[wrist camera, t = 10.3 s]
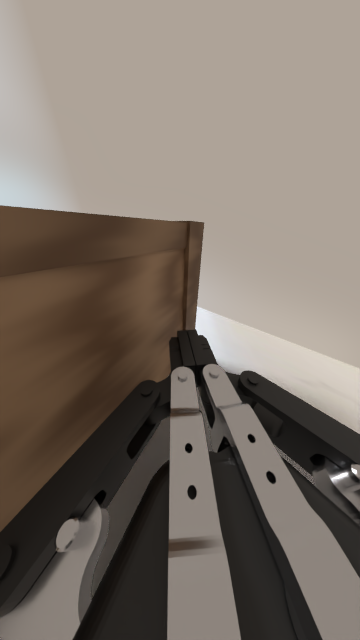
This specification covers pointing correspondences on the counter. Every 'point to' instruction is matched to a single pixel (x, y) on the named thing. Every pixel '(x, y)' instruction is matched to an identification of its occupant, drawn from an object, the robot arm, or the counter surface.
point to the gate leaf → (82, 329)
